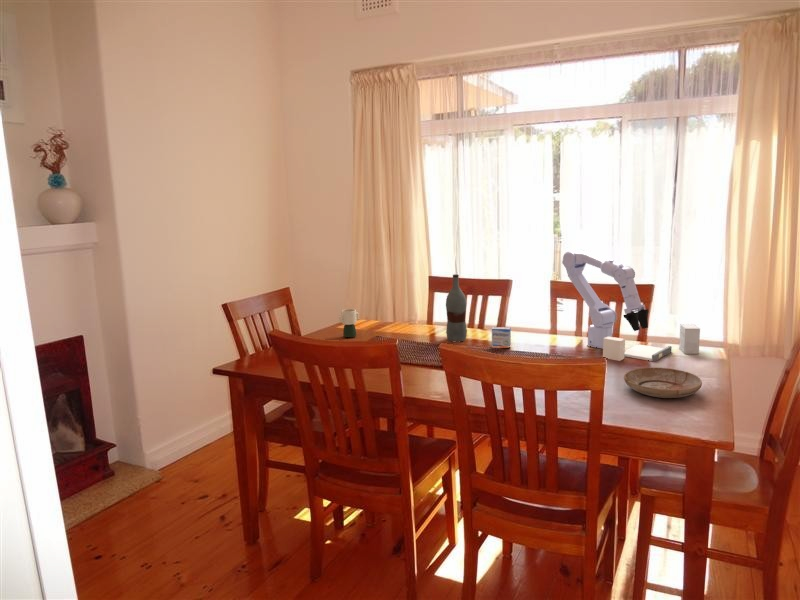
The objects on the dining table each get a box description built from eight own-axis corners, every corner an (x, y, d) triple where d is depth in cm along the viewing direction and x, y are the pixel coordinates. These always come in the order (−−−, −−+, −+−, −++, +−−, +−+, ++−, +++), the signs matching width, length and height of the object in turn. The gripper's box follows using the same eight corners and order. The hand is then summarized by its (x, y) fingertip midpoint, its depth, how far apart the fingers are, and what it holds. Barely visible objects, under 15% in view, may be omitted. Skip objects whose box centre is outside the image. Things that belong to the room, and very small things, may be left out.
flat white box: (620, 355, 240) (620, 349, 240) (638, 346, 252) (638, 341, 252) (654, 361, 231) (655, 355, 230) (671, 352, 243) (672, 346, 242)
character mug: (355, 333, 291) (354, 307, 289) (363, 336, 286) (362, 309, 283) (336, 337, 285) (334, 310, 282) (344, 340, 279) (342, 313, 277)
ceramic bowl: (624, 378, 214) (624, 364, 213) (697, 384, 205) (698, 369, 204) (622, 400, 192) (623, 385, 191) (704, 407, 184) (705, 392, 183)
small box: (698, 354, 239) (700, 328, 237) (683, 354, 240) (685, 328, 238) (693, 348, 246) (694, 324, 244) (678, 348, 247) (680, 323, 245)
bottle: (444, 342, 270) (442, 276, 264) (449, 337, 279) (447, 273, 273) (464, 343, 267) (463, 276, 261) (468, 338, 276) (468, 273, 270)
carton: (619, 361, 233) (620, 341, 232) (602, 357, 238) (603, 338, 237) (624, 358, 236) (625, 338, 235) (607, 355, 241) (608, 336, 240)
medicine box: (491, 348, 257) (491, 328, 256) (492, 345, 261) (492, 326, 260) (510, 349, 255) (510, 329, 254) (510, 346, 259) (510, 326, 258)
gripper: (632, 295, 232) (642, 329, 230) (648, 292, 242) (658, 324, 240) (615, 299, 237) (625, 333, 235) (631, 297, 247) (641, 329, 245)
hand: (641, 329), depth 238 cm, fingers open, 7 cm apart
